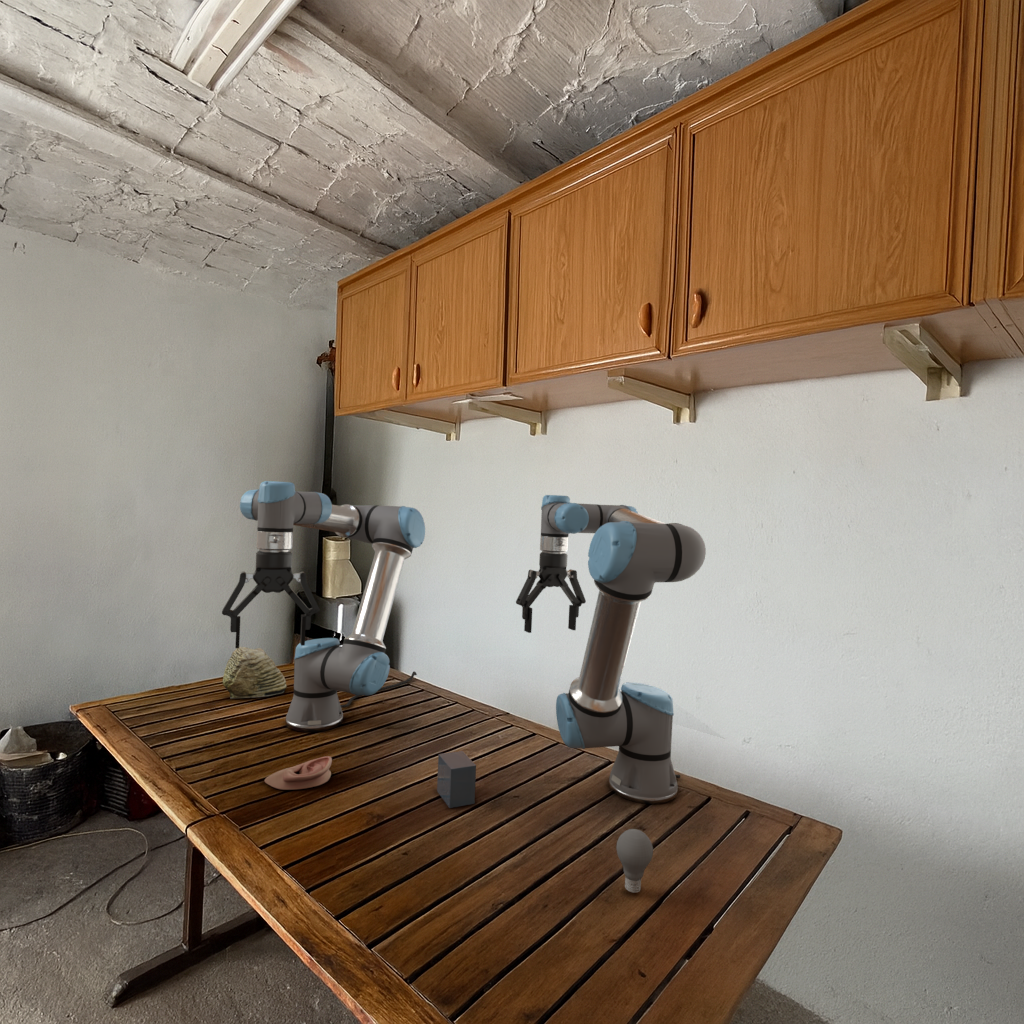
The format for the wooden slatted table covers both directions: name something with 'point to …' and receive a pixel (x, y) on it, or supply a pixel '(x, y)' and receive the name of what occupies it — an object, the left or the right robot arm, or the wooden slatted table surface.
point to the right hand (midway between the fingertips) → (550, 630)
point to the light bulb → (634, 857)
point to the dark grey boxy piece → (456, 779)
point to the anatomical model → (302, 775)
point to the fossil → (252, 674)
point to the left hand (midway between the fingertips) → (270, 645)
